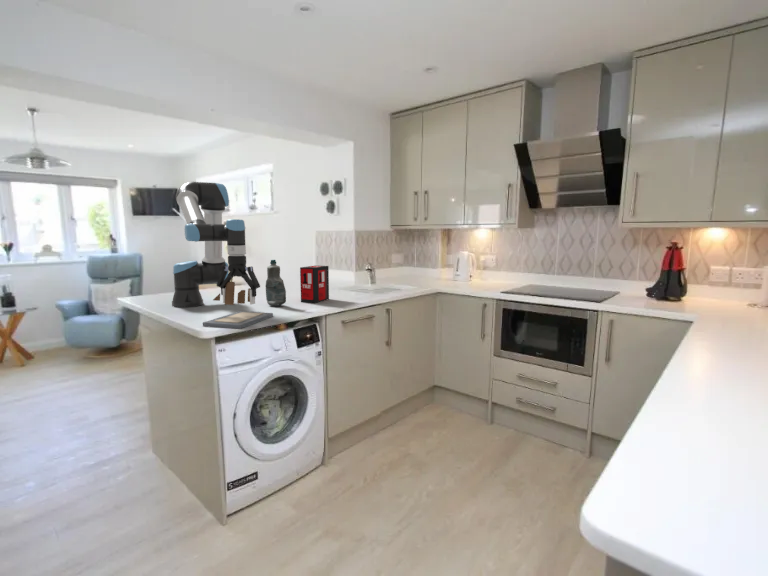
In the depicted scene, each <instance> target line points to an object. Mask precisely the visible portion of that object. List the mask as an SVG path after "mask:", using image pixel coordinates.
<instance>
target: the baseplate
mask: <svg viewBox="0 0 768 576" xmlns="http://www.w3.org/2000/svg"><path fill="white" fill-rule="evenodd" d="M272 317H274V313H273V312H261V311H260V312H259V311H243V310H242V311H241V310H239V311H236V312H233V313H232V312H231V313H229V314H226V315H223V316H220V317H216V318H213V319H209V320H206V321H204V322H202V327H208V326H210V327H209V328H211V327H212V328H213V327H214V328H225V329H227V328H228V329H240V330H241V329H245V328H246V327H248V326H251V325H254V324H257V323H259V322H261V321H264V320H267V319H269V318H272Z"/></svg>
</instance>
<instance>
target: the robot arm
mask: <svg viewBox="0 0 768 576" xmlns="http://www.w3.org/2000/svg"><path fill="white" fill-rule="evenodd" d="M226 187H227V186H225V185H224V184H222V183H217V182H207V181H206V182H202V181H189V182H186V183H183V184H182V185H181V186H180V187H178V189H177V191H176V194H175V200H176V202H177V205H178V206H179V207H180V208H181V210H182V213H183V216H184V219H185V222H186V224H185V225H184V236H185V240H186V241H188V242H194V243H196V242H204V257H203V258H202V259H201V262H198V260H191V261H189V260H188V261H182V262H177V263H175V264H173V269H172V274H173V282H174V283H173V284H174V285H173V286H174V293H173V298H172V301H171V306H172V307H173V306H174V307H173V308H191V307H200V306H203V305H204V298H203V297H202V296H203V295H202V294H201V292H200V285H201V286H203V285H204V286H205V285H216V287H217V288H220V296H222V304H225V291H226V288H225V286H226V284H227V283H228V282H231V281H232V279H233V277H234V278H235V277H237V278H238V277H239V278H240V277H241V278H242V279H243V280H244V281H245V283H246V284H247V286H248V287H250V302H249V303H250V304H249V305H254V304H256V296H257V289H258V288H261V285H260V282H259V280H258V278H257V276H256V274H255V272H254V267H253V266H247V256H246V254H247V249H246V248H247V247H246V246H247V245H246V226H245V220H243V219H240V218H239V219H233V218H230V219H229V218H227V220H226V222H225V224H223V213H224V212H225V211H226V208H227V207H229V203H230V200H229V193H228V189H227V188H226ZM203 212H204V214H203ZM223 242H226V243H227V246H226V248H227V249H226V250H227V255H228V256H227V261H226V259H225V258H224V257H223Z"/></svg>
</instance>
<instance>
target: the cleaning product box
mask: <svg viewBox="0 0 768 576" xmlns="http://www.w3.org/2000/svg"><path fill="white" fill-rule="evenodd" d="M329 270H330V269H329V265H310V266H302V267H300V268H299V278H300V303H306V304H317V303H321V302H325V301H327V299H328V300H329V299H330V284H329V283H330V282H329V281H330V279H329V276H330V275H329ZM324 300H325V301H324Z"/></svg>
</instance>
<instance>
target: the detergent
mask: <svg viewBox="0 0 768 576" xmlns="http://www.w3.org/2000/svg"><path fill="white" fill-rule="evenodd" d="M269 264H270V265H269V266H267V267H266V272H267V275H266V276H267V279H266V281H265V296H266V302H267V305H269V306H278V307H280V306H282V305H284V304H286V302H287V297H286V296H287V291H286V286H285V283H284V279H282V277H281V267H280V265H277V261H276V259H270V263H269Z"/></svg>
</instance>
